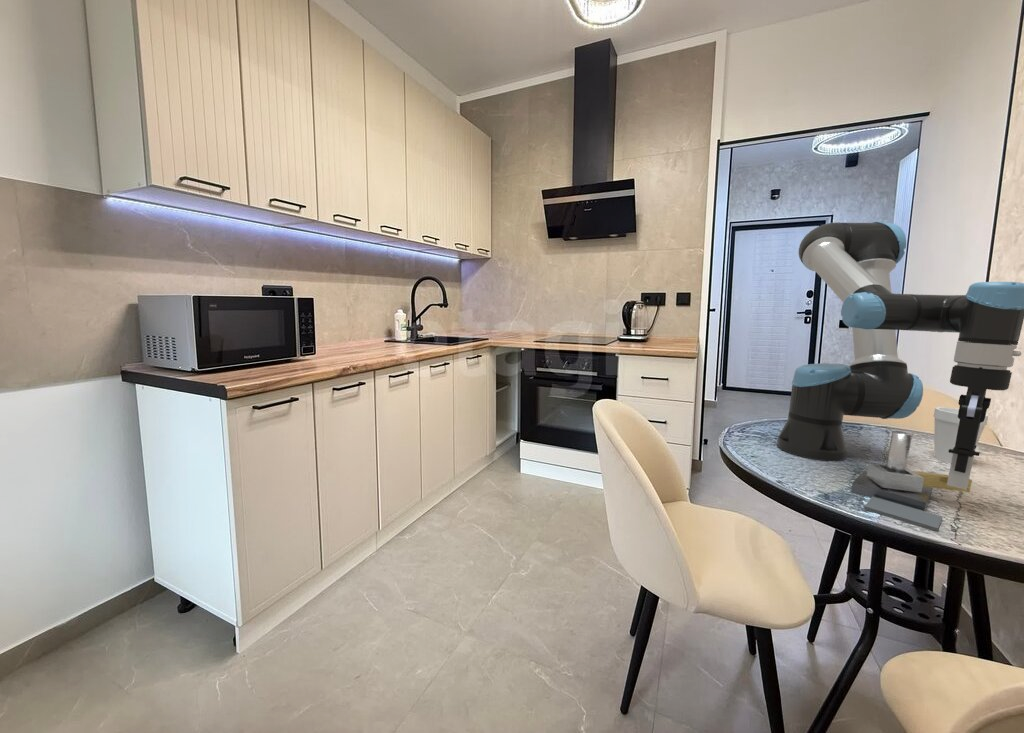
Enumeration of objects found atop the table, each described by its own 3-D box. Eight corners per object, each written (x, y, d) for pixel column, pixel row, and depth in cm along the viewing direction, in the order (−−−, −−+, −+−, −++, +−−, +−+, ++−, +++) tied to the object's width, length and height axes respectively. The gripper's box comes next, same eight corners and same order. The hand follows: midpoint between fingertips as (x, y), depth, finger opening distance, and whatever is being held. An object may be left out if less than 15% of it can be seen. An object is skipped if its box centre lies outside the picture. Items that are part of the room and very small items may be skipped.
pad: (863, 509, 81) (864, 506, 81) (871, 499, 85) (872, 496, 85) (937, 531, 73) (938, 528, 73) (941, 519, 78) (942, 516, 78)
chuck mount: (851, 491, 89) (852, 482, 88) (863, 479, 96) (864, 470, 95) (923, 512, 80) (925, 502, 80) (931, 496, 87) (932, 487, 87)
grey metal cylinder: (881, 484, 88) (891, 432, 86) (884, 480, 90) (893, 430, 88) (900, 489, 86) (911, 436, 84) (903, 485, 88) (913, 434, 86)
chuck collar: (882, 487, 86) (884, 473, 85) (866, 475, 92) (868, 462, 91) (978, 499, 81) (981, 485, 81) (954, 486, 87) (957, 472, 87)
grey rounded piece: (924, 451, 117) (933, 405, 115) (973, 460, 111) (983, 411, 110) (928, 460, 110) (937, 411, 108) (981, 470, 104) (991, 418, 102)
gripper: (1012, 371, 73) (983, 502, 76) (1013, 367, 81) (987, 485, 84) (949, 365, 78) (925, 487, 82) (956, 362, 86) (934, 473, 90)
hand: (956, 486), depth 83 cm, fingers closed
